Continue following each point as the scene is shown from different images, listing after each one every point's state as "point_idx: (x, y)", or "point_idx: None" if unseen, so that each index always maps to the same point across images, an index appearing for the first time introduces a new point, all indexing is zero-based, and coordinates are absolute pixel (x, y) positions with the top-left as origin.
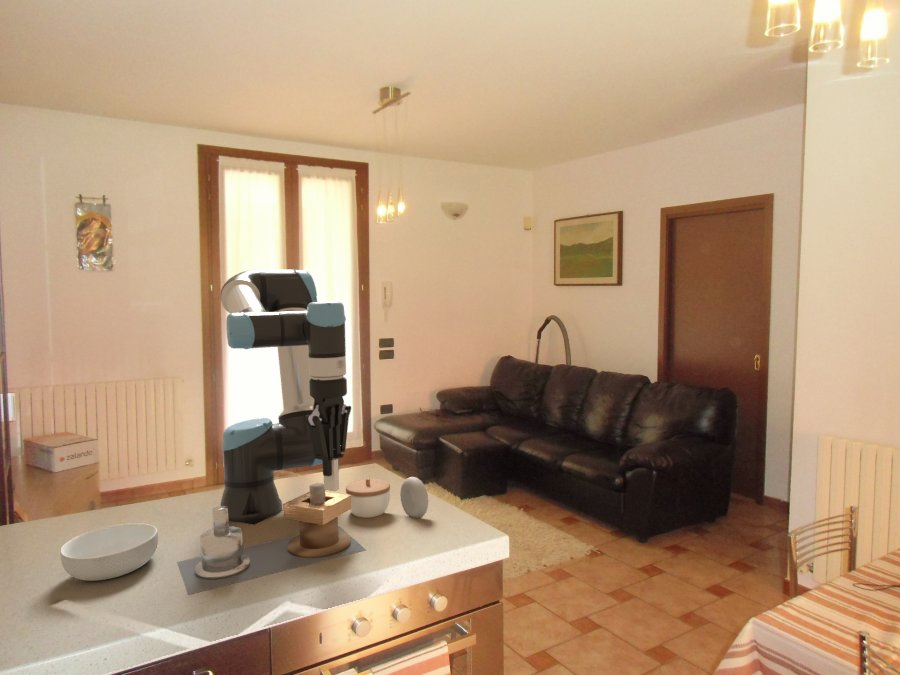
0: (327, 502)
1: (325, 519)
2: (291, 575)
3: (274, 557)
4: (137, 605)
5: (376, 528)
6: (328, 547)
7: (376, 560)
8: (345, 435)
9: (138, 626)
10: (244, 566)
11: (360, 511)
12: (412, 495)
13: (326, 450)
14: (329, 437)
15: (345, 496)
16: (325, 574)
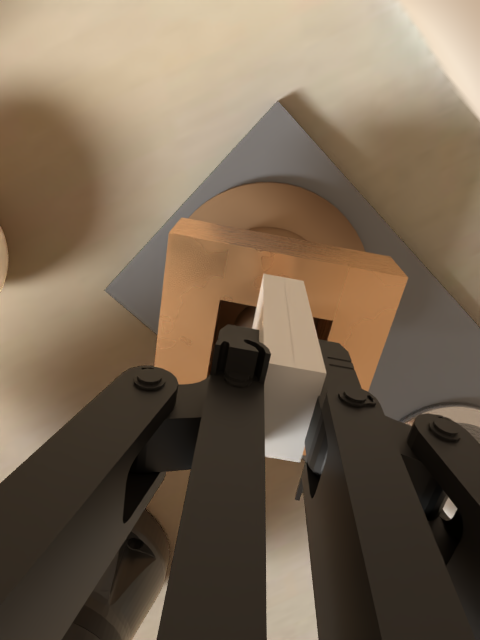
0: None
1: (377, 258)
2: (442, 282)
3: None
4: None
5: (44, 163)
6: (309, 237)
7: (309, 43)
8: (52, 474)
9: None
10: (464, 409)
11: (4, 249)
12: None
13: (463, 476)
14: (448, 593)
15: (197, 251)
16: (432, 184)
